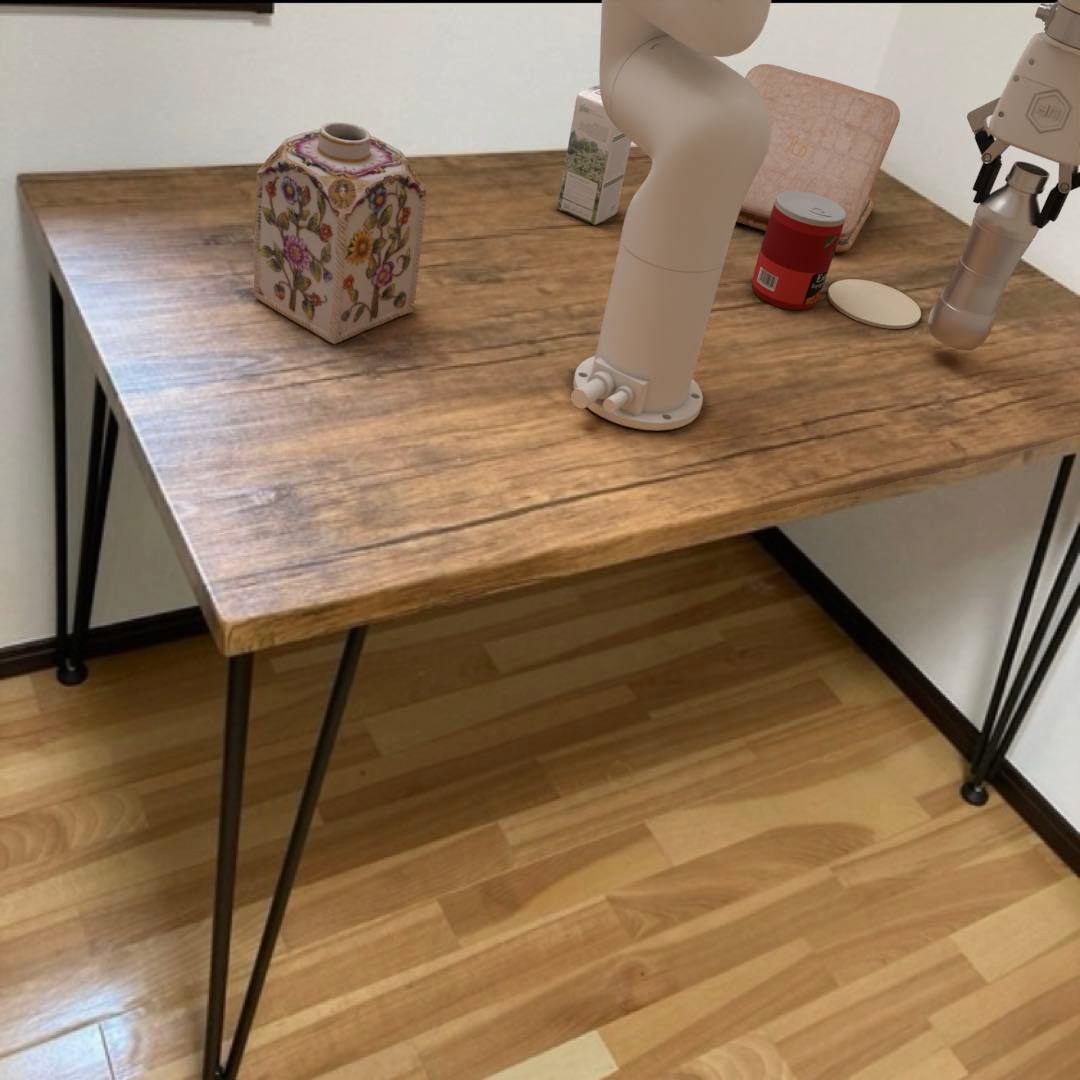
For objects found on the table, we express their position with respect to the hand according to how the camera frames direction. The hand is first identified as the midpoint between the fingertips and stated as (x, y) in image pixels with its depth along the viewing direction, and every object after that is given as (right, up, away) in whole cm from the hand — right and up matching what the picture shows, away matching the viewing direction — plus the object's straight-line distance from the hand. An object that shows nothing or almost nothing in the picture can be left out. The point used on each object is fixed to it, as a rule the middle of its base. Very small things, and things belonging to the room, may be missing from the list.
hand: (1011, 210), depth 128 cm
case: (-16, +9, +36) cm, 41 cm away
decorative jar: (-69, -10, -3) cm, 70 cm away
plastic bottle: (-3, -12, +9) cm, 16 cm away
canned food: (-20, -6, +16) cm, 27 cm away
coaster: (-9, -6, +18) cm, 21 cm away
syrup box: (-43, +6, +26) cm, 50 cm away
